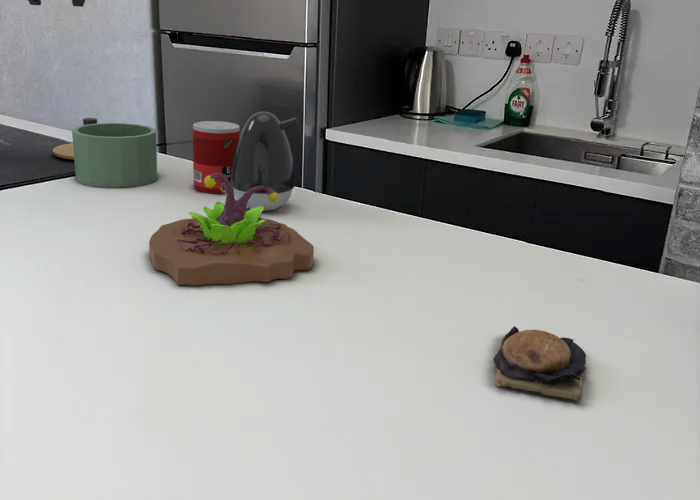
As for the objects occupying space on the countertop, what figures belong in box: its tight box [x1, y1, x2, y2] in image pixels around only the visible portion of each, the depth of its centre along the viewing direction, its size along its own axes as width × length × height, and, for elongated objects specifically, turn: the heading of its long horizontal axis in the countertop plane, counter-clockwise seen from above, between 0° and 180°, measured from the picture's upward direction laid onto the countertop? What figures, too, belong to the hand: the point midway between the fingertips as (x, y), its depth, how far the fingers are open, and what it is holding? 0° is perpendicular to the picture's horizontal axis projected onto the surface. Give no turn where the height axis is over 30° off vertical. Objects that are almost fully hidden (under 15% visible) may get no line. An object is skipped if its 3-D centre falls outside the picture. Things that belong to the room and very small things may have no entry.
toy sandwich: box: [492, 326, 587, 402], centre depth 65 cm, size 11×8×4 cm
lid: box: [52, 117, 98, 161], centre depth 135 cm, size 14×14×7 cm
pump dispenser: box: [230, 111, 299, 212], centre depth 107 cm, size 10×10×15 cm
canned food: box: [192, 120, 241, 195], centre depth 117 cm, size 8×8×11 cm
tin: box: [71, 122, 158, 189], centre depth 120 cm, size 14×14×8 cm
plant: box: [148, 173, 315, 287], centre depth 86 cm, size 20×20×11 cm
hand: (57, 5), depth 118 cm, fingers open, 8 cm apart
